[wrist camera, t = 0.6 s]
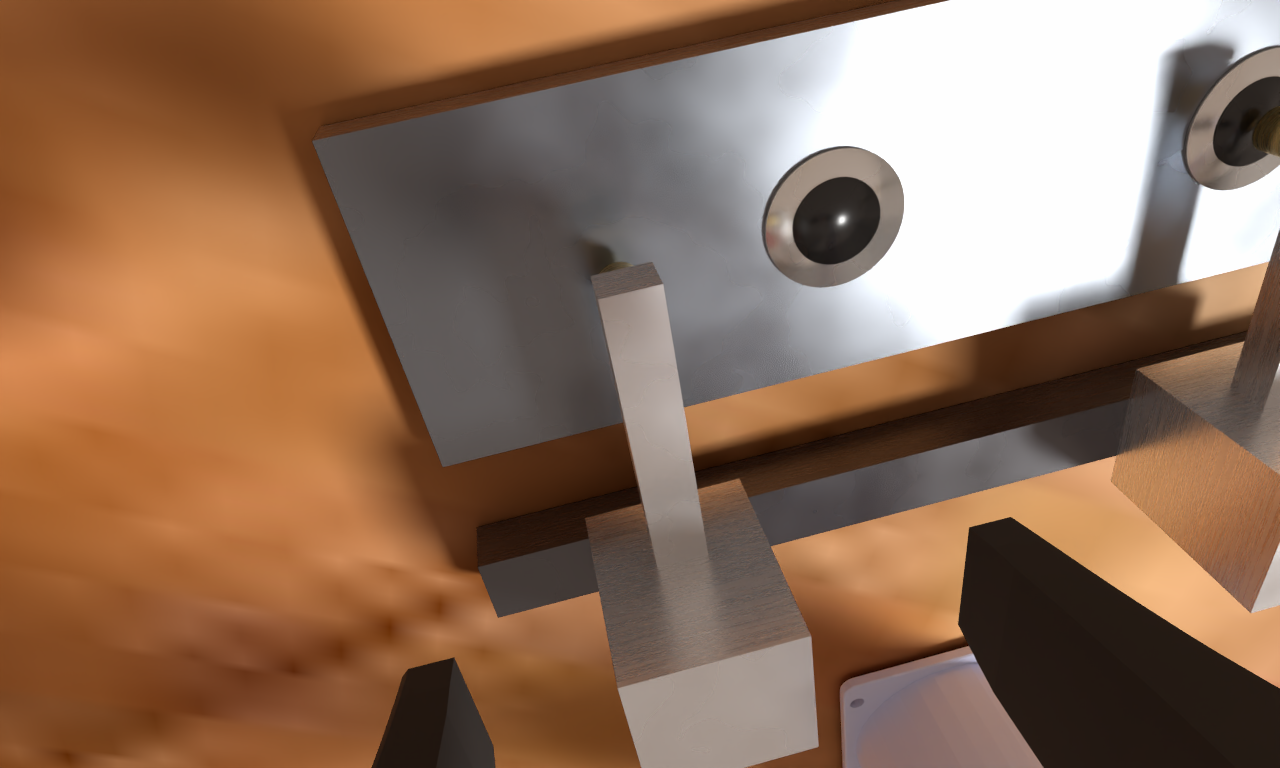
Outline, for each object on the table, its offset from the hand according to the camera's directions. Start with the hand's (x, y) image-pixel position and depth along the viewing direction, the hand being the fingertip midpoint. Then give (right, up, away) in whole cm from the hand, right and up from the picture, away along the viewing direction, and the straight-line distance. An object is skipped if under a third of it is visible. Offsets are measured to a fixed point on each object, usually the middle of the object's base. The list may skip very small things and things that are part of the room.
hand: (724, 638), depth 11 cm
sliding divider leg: (-1, +2, +8) cm, 9 cm away
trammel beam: (+6, +2, +12) cm, 14 cm away
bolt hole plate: (+5, +8, +7) cm, 12 cm away
